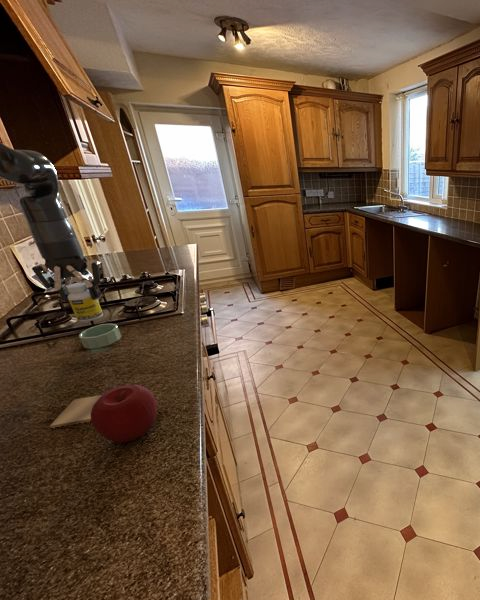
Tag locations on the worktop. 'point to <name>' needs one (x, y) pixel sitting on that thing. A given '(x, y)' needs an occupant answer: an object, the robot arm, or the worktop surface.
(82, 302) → the supplement bottle
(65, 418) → the board
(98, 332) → the bowl
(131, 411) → the apple
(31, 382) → the worktop surface
